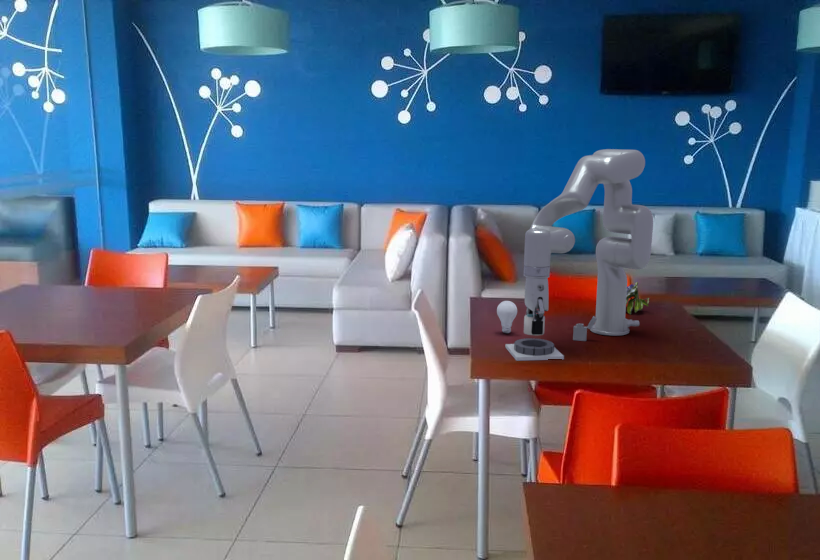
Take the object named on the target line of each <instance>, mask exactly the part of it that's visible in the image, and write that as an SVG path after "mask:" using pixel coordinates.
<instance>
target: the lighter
mask: <svg viewBox="0 0 820 560" xmlns="http://www.w3.org/2000/svg"><path fill="white" fill-rule="evenodd" d="M596 320H597V317H596V315H593V316H592V318H591V319H590V321H589V323H588V324H587V325H586V326H585V325H584V323H576V324H575V325H573V334H572V340H573V341H581V342H587V337H588V335H587V333H588V332H587V331H588V330H590V331H591V329H592V327H593V325H594V324H595V322H596Z"/></svg>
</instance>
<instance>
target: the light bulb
mask: <svg viewBox="0 0 820 560" xmlns="http://www.w3.org/2000/svg"><path fill="white" fill-rule="evenodd" d="M517 314H518V308H517V305H516V304H515V303H514V302H513V301H510V300H503V301H501V302H500V303H499V304H498V305H497V308H496V315H497V317H498V318H499V320H500V322H501V324H500V325H501V331H502V333H503V334H506V335H507V334H510V333H511V332H512V328H511V327H512V326H513V322H514V319H515V318H516V317H517Z"/></svg>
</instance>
